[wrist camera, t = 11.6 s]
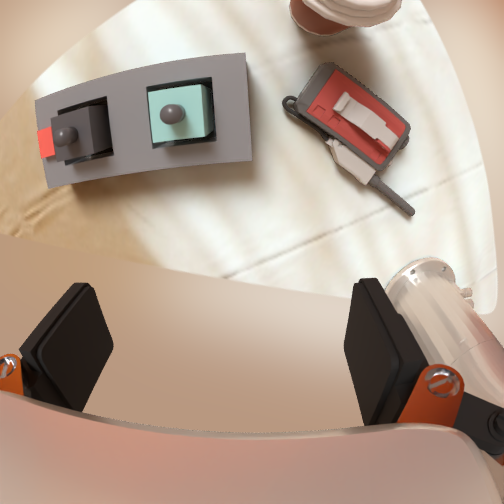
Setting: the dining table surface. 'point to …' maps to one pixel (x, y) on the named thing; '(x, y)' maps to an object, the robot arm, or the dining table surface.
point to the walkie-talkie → (353, 125)
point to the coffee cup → (340, 14)
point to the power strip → (140, 121)
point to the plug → (181, 113)
